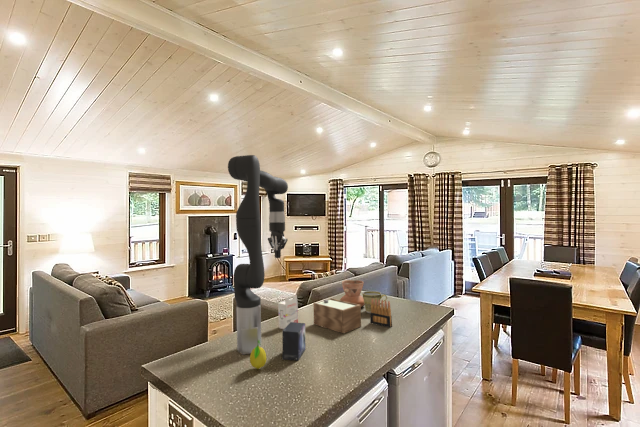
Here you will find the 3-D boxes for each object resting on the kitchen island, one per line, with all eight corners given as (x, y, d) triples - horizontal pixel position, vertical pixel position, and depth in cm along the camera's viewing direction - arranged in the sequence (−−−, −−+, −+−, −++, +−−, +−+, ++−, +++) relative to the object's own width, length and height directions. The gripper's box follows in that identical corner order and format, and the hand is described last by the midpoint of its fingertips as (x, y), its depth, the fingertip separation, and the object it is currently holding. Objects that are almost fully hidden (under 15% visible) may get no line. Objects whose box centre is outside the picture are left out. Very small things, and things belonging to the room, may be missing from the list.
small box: (299, 361, 119) (298, 331, 119) (281, 360, 120) (281, 330, 120) (306, 349, 129) (306, 322, 129) (290, 348, 130) (289, 321, 130)
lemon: (260, 363, 118) (259, 334, 118) (271, 367, 114) (271, 338, 114) (244, 370, 112) (244, 340, 112) (256, 375, 109) (255, 344, 109)
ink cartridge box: (290, 323, 161) (290, 292, 161) (298, 325, 158) (297, 294, 158) (278, 328, 154) (277, 296, 154) (286, 330, 151) (285, 297, 151)
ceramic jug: (357, 312, 177) (357, 285, 178) (334, 308, 185) (334, 282, 185) (371, 304, 193) (371, 280, 193) (348, 301, 200) (349, 277, 201)
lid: (358, 309, 154) (358, 303, 154) (343, 314, 147) (343, 308, 147) (329, 302, 167) (329, 297, 167) (314, 306, 160) (314, 301, 160)
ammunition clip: (392, 326, 154) (391, 300, 154) (390, 327, 152) (389, 301, 152) (372, 322, 160) (371, 297, 161) (370, 323, 159) (369, 297, 159)
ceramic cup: (361, 313, 174) (360, 294, 174) (364, 308, 184) (364, 290, 184) (386, 315, 171) (386, 295, 171) (388, 310, 180) (387, 291, 180)
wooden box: (361, 326, 154) (360, 304, 154) (343, 333, 146) (343, 310, 146) (331, 318, 168) (330, 298, 168) (313, 324, 159) (313, 303, 159)
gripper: (262, 221, 160) (263, 257, 160) (279, 221, 151) (280, 259, 151) (274, 221, 166) (275, 256, 166) (292, 221, 156) (292, 258, 156)
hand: (277, 257), depth 158 cm, fingers closed
